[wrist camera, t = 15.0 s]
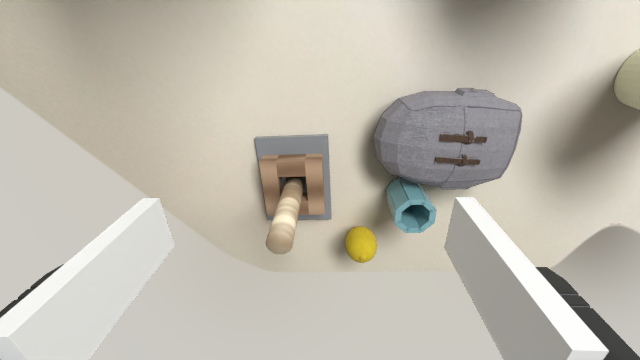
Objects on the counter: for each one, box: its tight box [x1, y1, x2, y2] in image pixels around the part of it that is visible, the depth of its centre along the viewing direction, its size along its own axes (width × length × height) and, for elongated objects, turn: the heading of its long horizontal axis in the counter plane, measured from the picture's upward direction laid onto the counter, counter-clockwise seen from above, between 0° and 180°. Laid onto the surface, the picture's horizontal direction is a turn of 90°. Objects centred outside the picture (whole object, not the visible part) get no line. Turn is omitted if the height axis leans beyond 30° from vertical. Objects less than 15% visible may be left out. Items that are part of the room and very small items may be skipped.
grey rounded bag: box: [374, 88, 522, 189], centre depth 42 cm, size 15×8×20 cm
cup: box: [387, 177, 436, 233], centre depth 46 cm, size 6×6×8 cm
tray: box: [255, 134, 331, 220], centre depth 49 cm, size 16×12×1 cm
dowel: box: [266, 176, 305, 254], centre depth 41 cm, size 3×3×17 cm
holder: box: [259, 153, 325, 215], centre depth 48 cm, size 10×10×3 cm
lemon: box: [345, 226, 377, 263], centre depth 50 cm, size 6×6×8 cm
